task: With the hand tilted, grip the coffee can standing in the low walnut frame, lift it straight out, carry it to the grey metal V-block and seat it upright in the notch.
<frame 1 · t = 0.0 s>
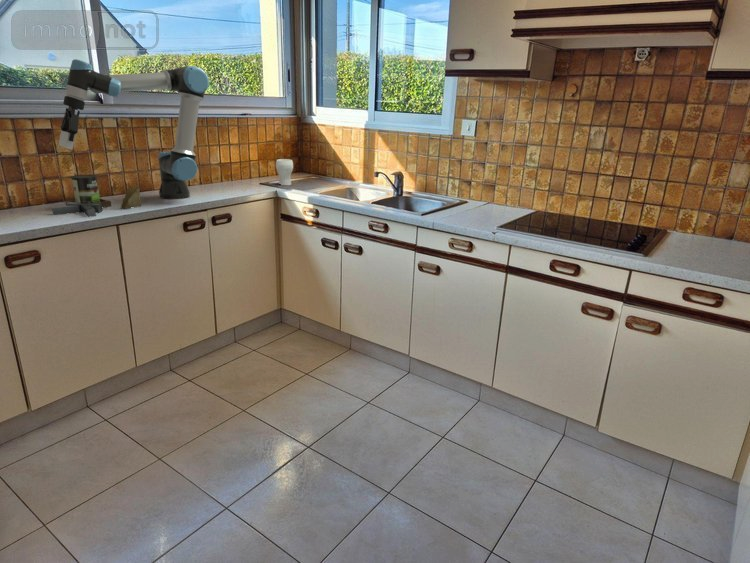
hand: (65, 147, 214), 28 cm above the countertop, tool tilted 20°, fingers open, 13 cm apart
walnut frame: (88, 206, 234), on the countertop
cup: (285, 184, 312), on the countertop
coffee can: (88, 206, 234), on the countertop
rock: (131, 207, 236), on the countertop
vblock: (70, 216, 215), on the countertop
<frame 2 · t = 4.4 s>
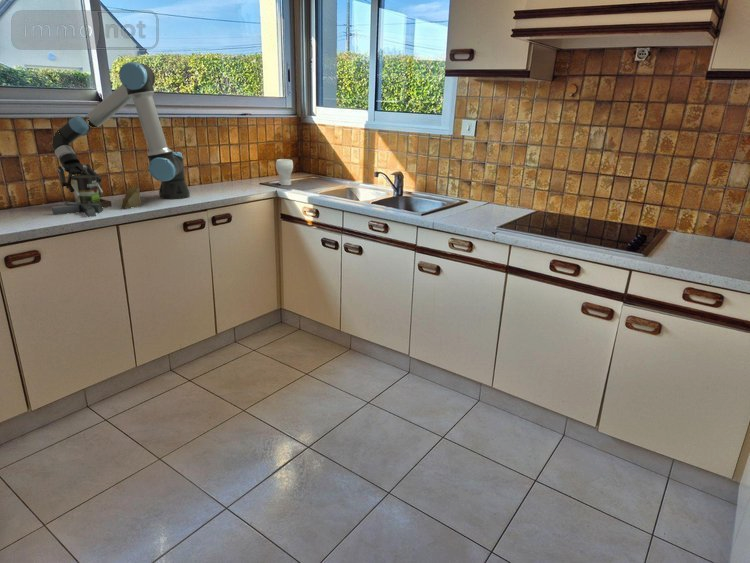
hand: (90, 195, 231), 5 cm above the countertop, tool tilted 45°, fingers closed on coffee can, 10 cm apart
coffee can: (88, 206, 234), on the countertop, touching gripper
everything else where it was.
when the fingers open (7 cm above the countertop, at t = 10.2 s): coffee can moves 2 cm, on the countertop.
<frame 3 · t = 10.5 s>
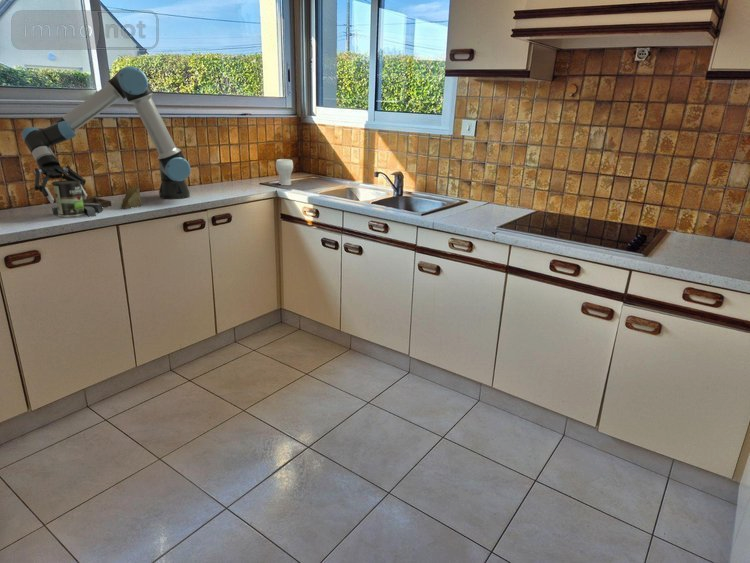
hand: (69, 199, 211), 8 cm above the countertop, tool tilted 45°, fingers open, 13 cm apart
coffee can: (72, 215, 216), on the countertop, touching gripper
everything else where it was.
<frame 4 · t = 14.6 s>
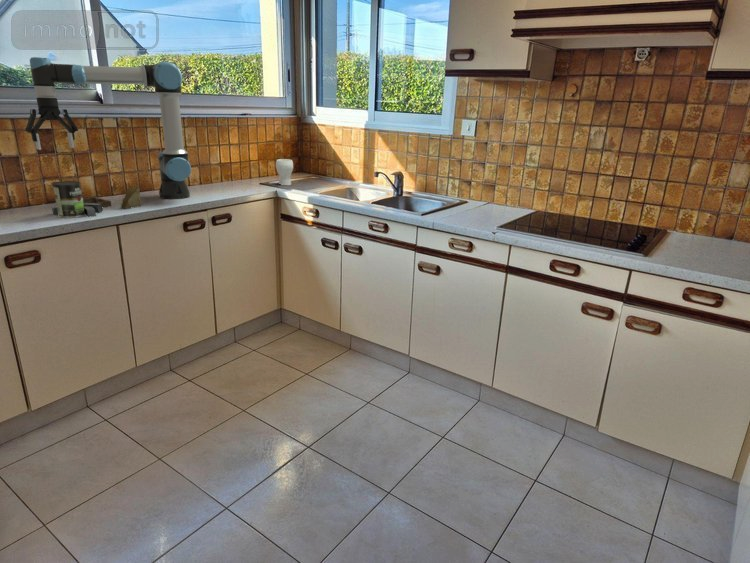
hand: (55, 148, 219), 27 cm above the countertop, tool pointing down, fingers open, 13 cm apart
coffee can: (72, 216, 216), on the countertop
everything else where it was.
at the end: coffee can 1.2 cm from the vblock (horizontally); coffee can tilted 1°; coffee can on the countertop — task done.
